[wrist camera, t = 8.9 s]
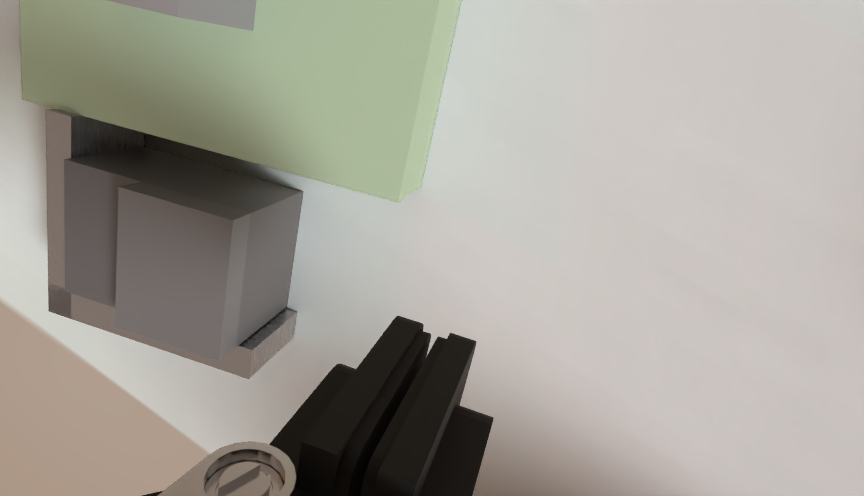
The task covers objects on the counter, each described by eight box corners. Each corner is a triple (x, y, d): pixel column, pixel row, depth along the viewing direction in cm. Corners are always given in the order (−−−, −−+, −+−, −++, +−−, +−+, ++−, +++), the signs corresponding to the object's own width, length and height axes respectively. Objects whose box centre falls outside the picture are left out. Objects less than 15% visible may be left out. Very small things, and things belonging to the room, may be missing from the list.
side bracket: (123, 106, 22) (45, 109, 18) (320, 159, 20) (274, 172, 17) (118, 280, 24) (48, 311, 21) (293, 337, 23) (248, 378, 20)
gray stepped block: (147, 146, 22) (37, 163, 18) (305, 190, 21) (232, 220, 17) (142, 258, 24) (40, 301, 19) (289, 304, 23) (218, 361, 18)
